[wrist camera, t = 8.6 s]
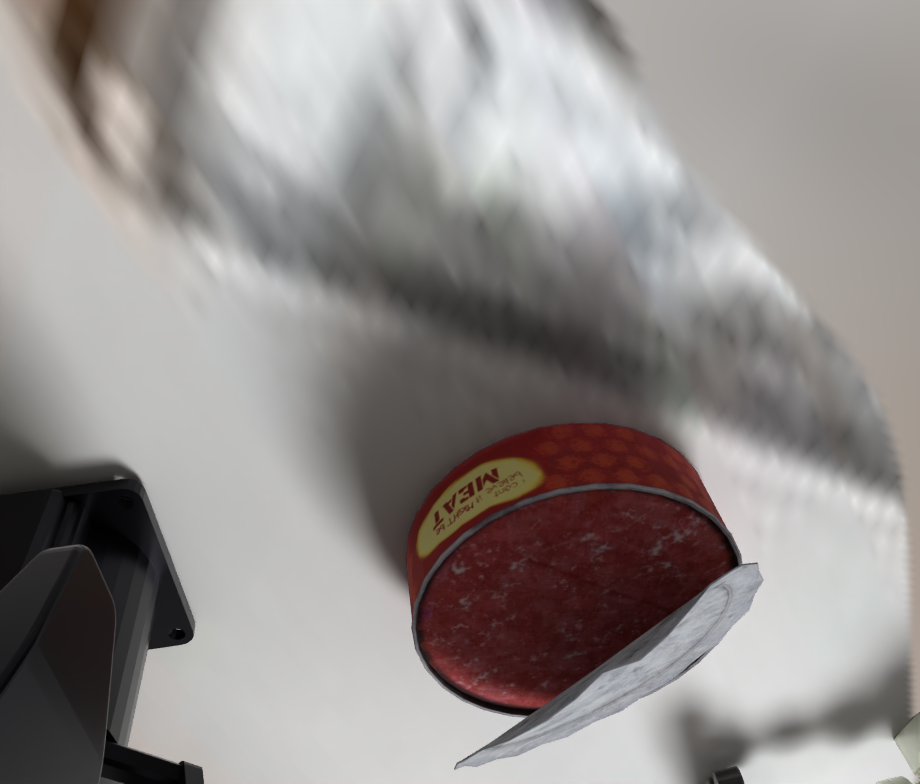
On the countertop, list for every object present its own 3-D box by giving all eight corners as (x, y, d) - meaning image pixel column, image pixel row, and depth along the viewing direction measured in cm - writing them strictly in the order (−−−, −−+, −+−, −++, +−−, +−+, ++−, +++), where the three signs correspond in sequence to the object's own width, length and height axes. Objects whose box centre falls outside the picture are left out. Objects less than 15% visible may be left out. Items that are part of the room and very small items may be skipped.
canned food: (605, 340, 29) (878, 461, 22) (613, 571, 34) (839, 735, 27) (300, 472, 24) (518, 689, 17) (360, 722, 29) (550, 976, 22)
